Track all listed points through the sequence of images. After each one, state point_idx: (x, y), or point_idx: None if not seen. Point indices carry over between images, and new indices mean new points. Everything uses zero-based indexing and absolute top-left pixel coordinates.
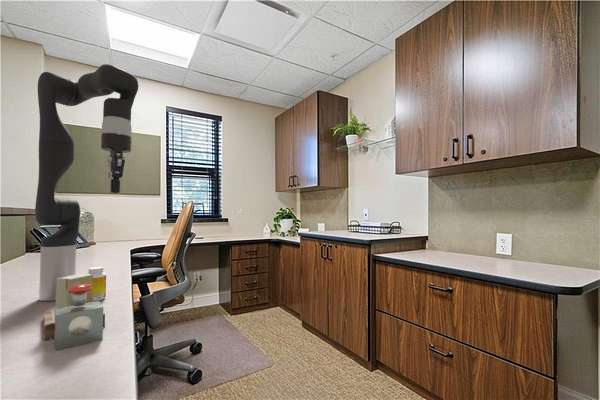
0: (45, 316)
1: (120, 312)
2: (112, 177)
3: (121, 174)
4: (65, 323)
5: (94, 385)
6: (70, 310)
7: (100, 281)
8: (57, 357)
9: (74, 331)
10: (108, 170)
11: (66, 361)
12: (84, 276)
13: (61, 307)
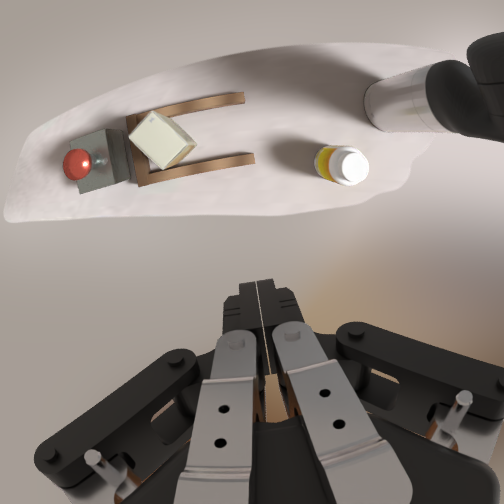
0: (207, 99)
1: (209, 203)
2: (219, 350)
3: (169, 412)
4: None
5: (15, 196)
6: None
7: (327, 173)
8: None
9: None
10: (302, 372)
11: (59, 161)
12: (149, 156)
13: (105, 136)
